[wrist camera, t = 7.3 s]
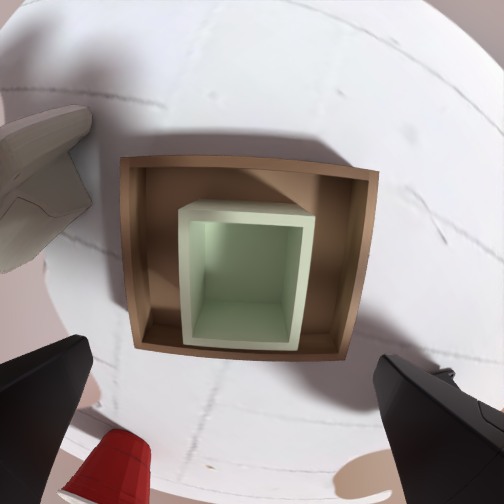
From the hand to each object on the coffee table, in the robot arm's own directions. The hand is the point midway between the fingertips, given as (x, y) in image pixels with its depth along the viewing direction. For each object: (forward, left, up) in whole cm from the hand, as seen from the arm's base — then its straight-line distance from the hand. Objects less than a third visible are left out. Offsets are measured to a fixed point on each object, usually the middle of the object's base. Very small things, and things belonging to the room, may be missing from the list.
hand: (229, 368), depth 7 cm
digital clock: (+4, +17, -12) cm, 21 cm away
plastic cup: (-25, +13, -12) cm, 30 cm away
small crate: (0, 0, -11) cm, 11 cm away
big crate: (0, 0, -11) cm, 11 cm away
